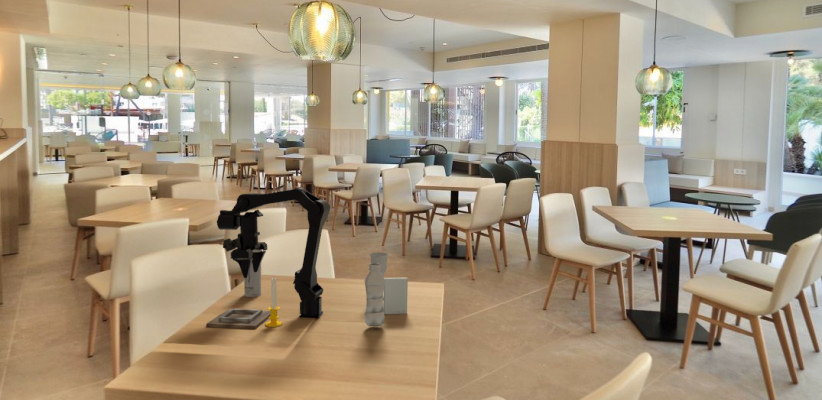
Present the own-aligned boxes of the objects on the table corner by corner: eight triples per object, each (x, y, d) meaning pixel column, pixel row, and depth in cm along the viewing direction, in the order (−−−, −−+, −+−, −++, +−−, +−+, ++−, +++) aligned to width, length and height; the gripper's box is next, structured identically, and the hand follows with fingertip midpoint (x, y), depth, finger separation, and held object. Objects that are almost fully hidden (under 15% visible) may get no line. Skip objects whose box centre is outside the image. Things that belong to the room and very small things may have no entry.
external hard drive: (407, 313, 188) (407, 278, 187) (383, 314, 187) (384, 278, 186) (406, 312, 189) (407, 277, 188) (383, 313, 188) (383, 277, 187)
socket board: (273, 314, 185) (273, 307, 185) (255, 328, 169) (255, 322, 169) (227, 312, 186) (227, 306, 186) (206, 326, 170) (206, 319, 170)
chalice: (391, 301, 204) (392, 253, 202) (381, 305, 198) (381, 256, 196) (375, 298, 207) (376, 251, 206) (365, 302, 202) (365, 254, 200)
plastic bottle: (388, 324, 176) (388, 263, 174) (378, 330, 169) (378, 267, 168) (370, 321, 178) (371, 261, 177) (360, 327, 172) (360, 265, 171)
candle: (281, 326, 171) (281, 278, 170) (264, 327, 170) (264, 278, 169) (282, 321, 176) (282, 274, 175) (266, 322, 176) (266, 275, 174)
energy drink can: (241, 297, 205) (240, 258, 204) (254, 294, 210) (253, 256, 209) (251, 300, 202) (251, 260, 201) (264, 297, 207) (264, 258, 205)
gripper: (237, 226, 196) (238, 269, 197) (214, 233, 177) (216, 280, 178) (267, 226, 195) (268, 269, 196) (247, 233, 176) (249, 281, 177)
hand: (250, 274), depth 187 cm, fingers open, 9 cm apart
